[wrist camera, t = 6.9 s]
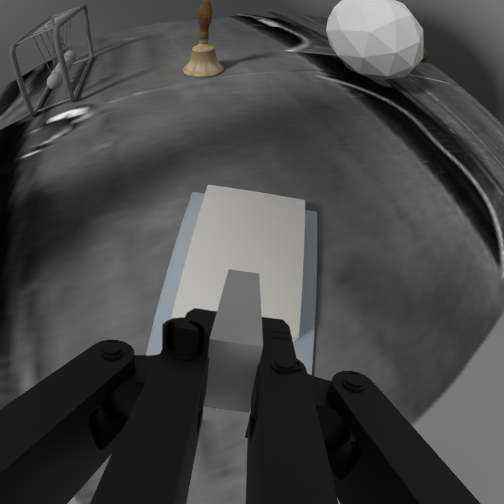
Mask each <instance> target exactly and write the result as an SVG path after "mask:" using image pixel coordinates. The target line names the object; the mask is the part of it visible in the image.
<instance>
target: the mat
mask: <svg viewBox="0 0 504 504" xmlns="http://www.w3.org/2000/svg"><path fill="white" fill-rule="evenodd" d="M204 195H205V193H197V192H192V195H191V198H190V201H189V204H188V207H187V209H186V213H185V216H184V219H183V222H182V225H181V228H180V231H179V234H178V237H177V241H176V244H175V247H174V250H173V254H172V257H171V260H170V264H169V267H168V271H167V274H166V278H165V281H164V285H163V289H162V292H161V296H160V300H159V304H158V307H157V311H156V315H155V319H154V323H153V327H152V331H151V336H150V340H149V344H148V349H147V353H146V356H148V355H157V354H160V352H161V350H162V324H164V323H165V322H166V321H167V320H170V319H172V318H171V317H172V312H173V308H174V304H175V300H176V296H177V292H178V288H179V284H180V280H181V276H182V272H183V269H184V265H185V261H186V257H187V254H188V250H189V247H190V243H191V239H192V236H193V232H194V229H195V225H196V222H197V219H198V215H199V212H200V209H201V205H202V202H203V199H204ZM316 286H317V212H315V211H310V210H305V233H304V260H303V281H302V299H301V314H300V328H299V338H298V339H297V340H296V341H295V342H294V343H293V344H294V349H295V353H296V358H297V359H298V360H300V361H301V362H302V363H303V364H304V365H305V367H306V370H307V373H308V374H310V375H312V362H313V348H314V332H315V313H316Z"/></svg>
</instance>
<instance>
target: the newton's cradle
mask: <svg viewBox="0 0 504 504" xmlns="http://www.w3.org/2000/svg"><path fill="white" fill-rule="evenodd" d="M82 9H83V13H84V21H85V27H86V35H87V41H88V47H89V53H90V58H88V59H85V60H81V61H78V62H75V63H73V62H74V61H75V60H76V57H77V55H76V52H74V51H70V45H69V51H67V50H66V51H67V52H66V53H65V54H64V53H63V45H64V43H63V39H61V36H60V27H61V26H62V25H64V24H65V23H66V22H67V21H68V20H69V19H70V21H71V18H72V17H73V16H74V15H76V14H77V13H78V12H79V11H80V10H82ZM69 11H71V12H69ZM66 12H69V13H68V14H67V15H66V16H64V17H63V18H62V19H60V20H59V21H58V22H57V23H55V21H54V18H55V17H56V16H58V15H61V14H63V13H66ZM63 13H60V14H57V15H55V16H49V17H48V18H47V19H45V20H44V21H42V22H41V23H39V24H38V25H36V26H35V27H34V28H32V29H31V30H30V31H29V32H27V33H26V34H24V35H23V36H22V37H21V38H19V39H18V40H17V41H16V42H15V43H13V44H12V45H11V48H10V58H11V62H12V65H13V69H14V72H15V75H16V78H17V82H18V85H19V88H20V91H21V93H22V96H23V99H24V102H25V105H26V107H27V110H28V112H29V114H30V115H31V116H36V115H37V113H38V112H40V111H42V110H45V109H47V108H50V107H53V106H55V105H58V104H61V103H64V102H66V101H69V100H71V101H72V102H73V101H75V100H76V99H77V97H78V94H79V91H80V89H81V86H82V83H83V81H84V78H85V76H86V74H87V71H88V69H89V67H90V64H91V62H92V60H93V57H94V53H93V46H92V40H91V33H90V26H89V19H88V11H87V6H86V5H85V4H83V5H81V6H80V7H77V8H74V9H71V10H68V11H65V12H63ZM48 22H51V27H50V28H49V29H47V30H46V29H45V27H44V25H46V23H48ZM48 24H49V23H48ZM42 26H43V27H44V29H45V31H42V32H40V31H41V30H40V31H39V29H40V28H41V27H42ZM47 26H48V25H47ZM49 26H50V24H49ZM70 26H71V22H70ZM66 27H67V25H66ZM37 30H38V31H39V33H38V34H35V35H33V34H34V33H36V31H37ZM49 30H51V31H52V33H53V38H54V43H55V48H56V52H57V54H56V55H57V58H58V64H57V66H55V61H54V62H53V63H54V70H53V72H52V73H51V75H50V76H49V78H48V80H47V85H48V86H47V87H46V89H45V91H44V93H43V94H42V96H41V98H40V100H39V102H38V103H37V105H36V107H35V109H34V110H33V108H32V105H31V102H30V99H29V97H28V94H27V91H26V88H25V85H24V82H23V78H22V75H21V72H20V69H19V65H18V62H17V58H16V54H15V48H16V46H18V45H19V44H20V43H22V42H24V41H26V40H28V39H31V38H33V37H34V39H35V36H37V35H41V34H42V33H44V32H47V31H49ZM66 31H67V29H66ZM66 33H67V32H66ZM31 35H33V36H31ZM30 36H31V37H30ZM47 36H48V34H47ZM66 36H67V34H66ZM28 37H29V38H28ZM41 37H42V36H41ZM62 37H63V36H62ZM48 38H49V37H48ZM42 40H43V38H42ZM61 40H62V43H61ZM35 41H36V40H35ZM43 42H44V41H43ZM50 42H51V41H50ZM54 43H53V44H54ZM69 43H70V41H69ZM36 44H37V42H36ZM44 44H45V43H44ZM37 46H38V44H37ZM45 46H46V45H45ZM64 47H65V45H64ZM38 48H39V46H38ZM46 49H47V47H46ZM53 49H54V46H53ZM65 49H66V47H65ZM39 50H40V48H39ZM47 50H48V49H47ZM54 51H55V50H54ZM40 52H41V50H40ZM56 52H55V53H56ZM48 53H49V51H48ZM41 54H42V52H41ZM49 55H50V54H49ZM42 56H43V55H42ZM50 57H51V55H50ZM43 58H44V57H43ZM51 59H52V58H51ZM44 60H45V59H44ZM86 60H88V62H87V64H86V66H85V68H84V70H83V72H82V75H81V77H80V79H79V81H78V84H77V86H76V89H75V91H74V93H73V90H72V86H71V83H70V79H69V75H68V71H69V70H70V67H71V66H72V65H73V64H76V63H79V62H82V61H86ZM52 61H53V60H52ZM45 62H46V61H45ZM46 64H47V63H46ZM47 66H48V65H47ZM55 67H56V68H55ZM48 68H49V67H48ZM49 70H50V69H49ZM50 72H51V71H50ZM63 79H64V83H65V86H66V90H67V94H68V97H69V99H67V100H64V101H61V102H58V103H56V104H53V105H50V106H48V107H45V108H43V109H40V107H41V105H42V103H43V101H44V99H45V97H46V96H47V94H48V92H49V90H50V88H51V89H56V88H58V87H60V86H61V84H62V83H63ZM39 109H40V110H39Z"/></svg>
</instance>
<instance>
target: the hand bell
mask: <svg viewBox="0 0 504 504" xmlns="http://www.w3.org/2000/svg"><path fill="white" fill-rule="evenodd" d="M198 20H199V24H200V41H199V44H198V45H196V46H194V47H193V48H192V54H191V59H190V61H189V63H188V64H187V65H186V66H185V67H184V69H183V73H184V74H186V75H188V76H193V77H210V76H215V75H218V74H220V73H222V72H223V70H224V68H223V66H222V65H221V64H220V63H219V62H218V60H217V58H216V53H215V47H214V46H213V45H210V44H209V43H208V29H209V25H210V23H211V20H212V7H211V5H210V0H203V1H202V4H201V6H200V9H199V12H198Z"/></svg>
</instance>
